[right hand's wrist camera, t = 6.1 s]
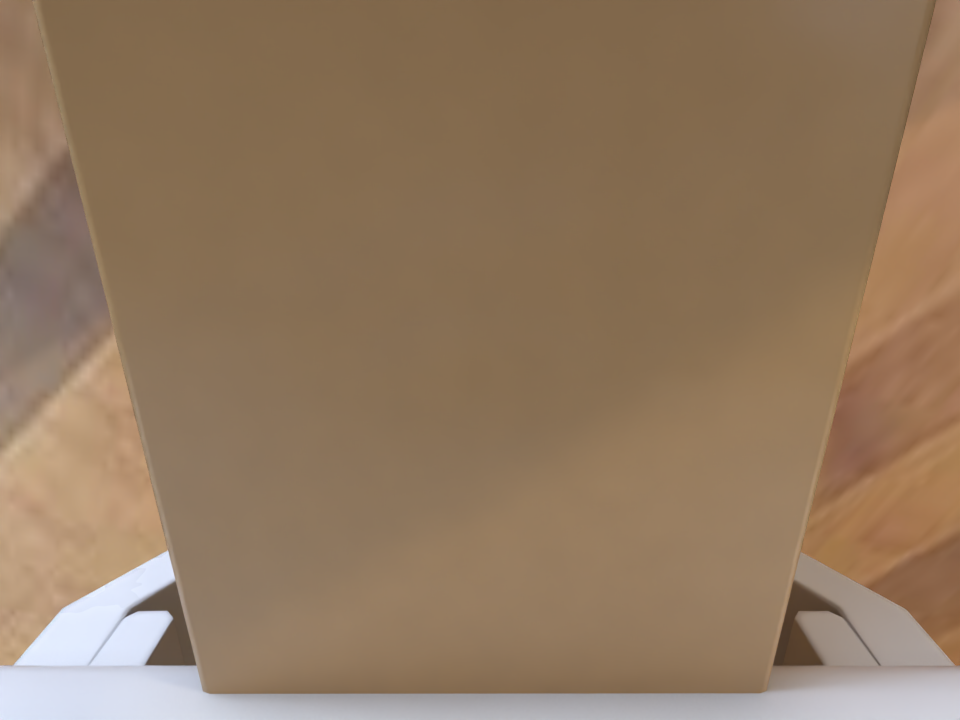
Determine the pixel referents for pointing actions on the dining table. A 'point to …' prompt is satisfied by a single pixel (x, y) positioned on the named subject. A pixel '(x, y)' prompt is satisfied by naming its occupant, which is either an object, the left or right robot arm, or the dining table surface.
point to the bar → (484, 319)
